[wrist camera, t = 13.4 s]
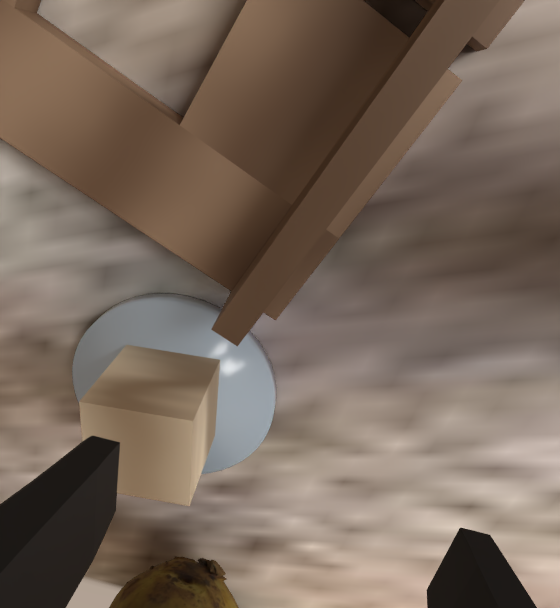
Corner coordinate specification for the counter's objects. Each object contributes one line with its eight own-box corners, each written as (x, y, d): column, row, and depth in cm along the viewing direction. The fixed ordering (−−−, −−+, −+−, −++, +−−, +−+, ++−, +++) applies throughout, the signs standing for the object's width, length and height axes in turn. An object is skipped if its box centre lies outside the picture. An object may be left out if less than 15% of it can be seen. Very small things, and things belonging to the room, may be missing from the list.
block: (220, 359, 20) (193, 421, 16) (215, 435, 21) (189, 506, 18) (126, 344, 20) (79, 401, 16) (128, 420, 22) (86, 487, 18)
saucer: (317, 371, 20) (316, 381, 20) (211, 490, 24) (207, 503, 23) (134, 251, 19) (126, 258, 18) (52, 397, 23) (42, 407, 22)
